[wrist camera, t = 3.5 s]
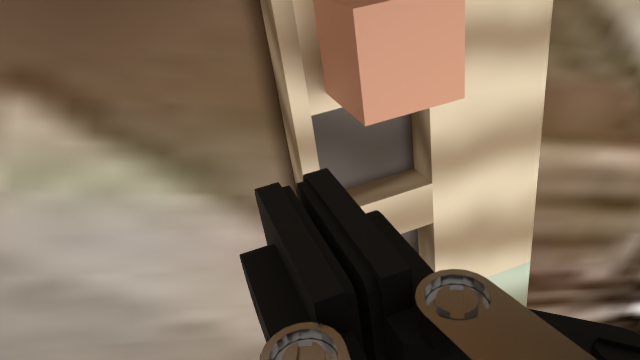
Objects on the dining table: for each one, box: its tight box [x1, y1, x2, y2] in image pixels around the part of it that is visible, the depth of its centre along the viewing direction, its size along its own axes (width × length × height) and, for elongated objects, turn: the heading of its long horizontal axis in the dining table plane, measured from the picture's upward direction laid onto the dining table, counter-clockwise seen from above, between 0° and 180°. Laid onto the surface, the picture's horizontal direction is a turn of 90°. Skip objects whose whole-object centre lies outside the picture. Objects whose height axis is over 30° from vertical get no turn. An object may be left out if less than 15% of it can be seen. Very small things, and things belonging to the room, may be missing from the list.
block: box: [313, 0, 465, 126], centre depth 23 cm, size 5×5×5 cm
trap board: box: [260, 0, 553, 307], centre depth 32 cm, size 31×16×4 cm, turn 8°
